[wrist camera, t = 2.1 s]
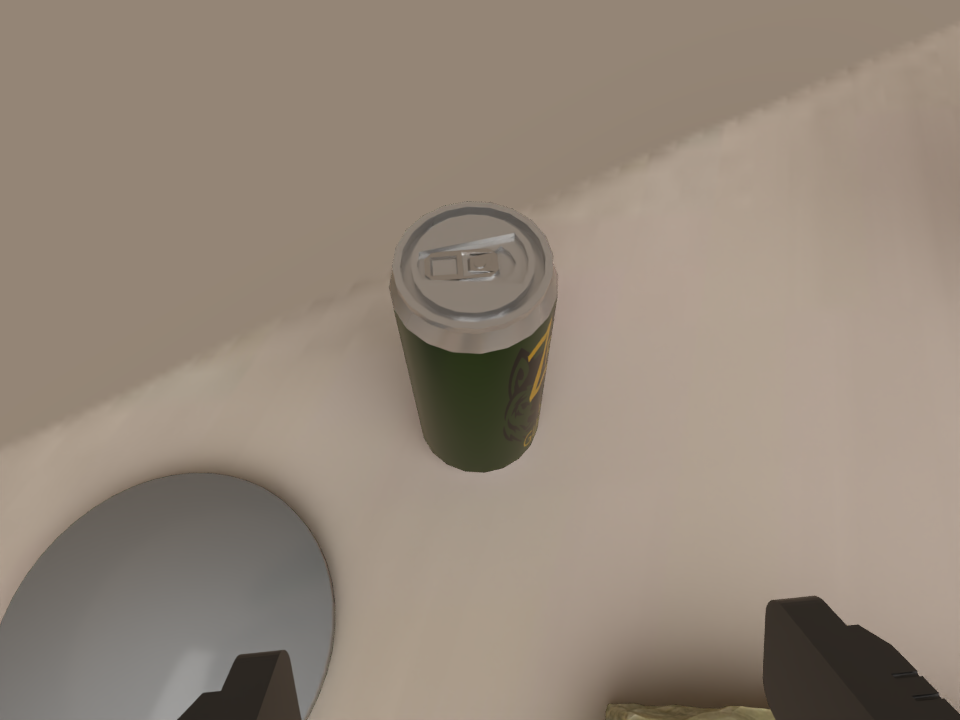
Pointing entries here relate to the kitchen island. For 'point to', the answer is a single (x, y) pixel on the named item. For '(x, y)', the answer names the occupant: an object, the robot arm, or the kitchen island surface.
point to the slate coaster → (165, 603)
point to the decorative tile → (684, 713)
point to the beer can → (475, 329)
